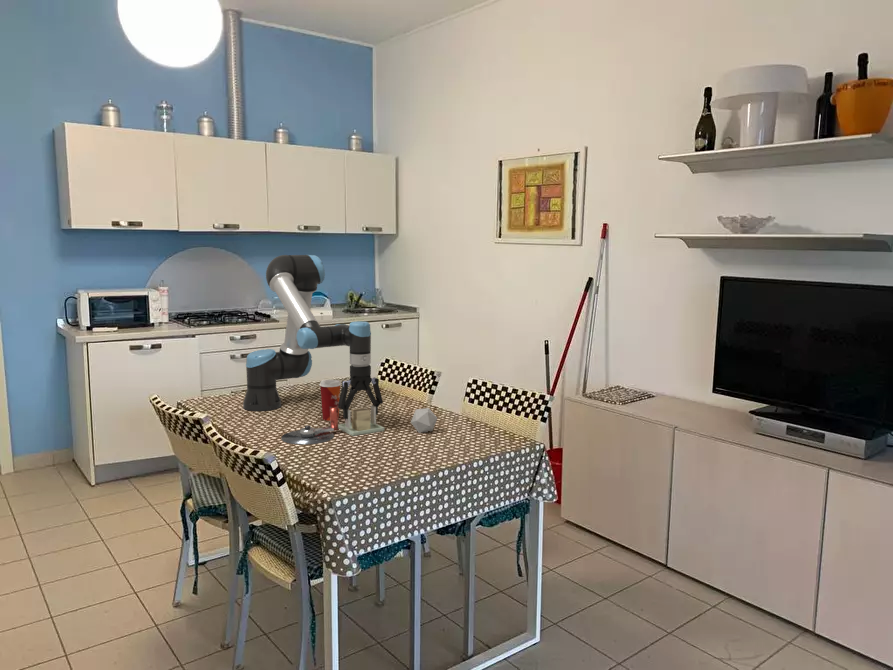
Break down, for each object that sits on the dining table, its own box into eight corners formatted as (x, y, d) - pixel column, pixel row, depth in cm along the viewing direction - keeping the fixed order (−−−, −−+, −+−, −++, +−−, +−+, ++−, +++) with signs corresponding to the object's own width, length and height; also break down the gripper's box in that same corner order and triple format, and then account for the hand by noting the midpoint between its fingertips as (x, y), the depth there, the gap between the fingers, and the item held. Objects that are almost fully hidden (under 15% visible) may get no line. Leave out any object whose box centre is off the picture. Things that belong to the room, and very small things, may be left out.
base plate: (274, 435, 238) (273, 424, 237) (321, 428, 248) (321, 417, 247) (292, 448, 223) (292, 436, 222) (342, 440, 233) (342, 428, 232)
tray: (337, 428, 247) (337, 424, 247) (368, 423, 254) (368, 419, 254) (352, 436, 237) (352, 432, 237) (384, 431, 244) (384, 427, 243)
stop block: (351, 428, 246) (351, 409, 245) (364, 426, 249) (364, 407, 248) (357, 431, 242) (357, 412, 241) (370, 429, 244) (370, 410, 244)
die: (431, 428, 251) (414, 407, 250) (445, 420, 245) (429, 399, 244) (418, 441, 245) (402, 419, 244) (433, 434, 239) (416, 411, 238)
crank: (303, 438, 232) (303, 413, 231) (298, 434, 236) (297, 410, 235) (340, 432, 239) (340, 408, 238) (335, 429, 243) (334, 405, 242)
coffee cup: (337, 422, 255) (336, 383, 253) (316, 421, 257) (315, 382, 255) (344, 417, 264) (344, 379, 262) (324, 415, 265) (324, 378, 263)
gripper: (336, 369, 233) (337, 432, 236) (392, 363, 245) (392, 423, 248) (327, 365, 239) (328, 427, 242) (382, 360, 251) (382, 419, 254)
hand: (360, 425), depth 245 cm, fingers open, 9 cm apart
